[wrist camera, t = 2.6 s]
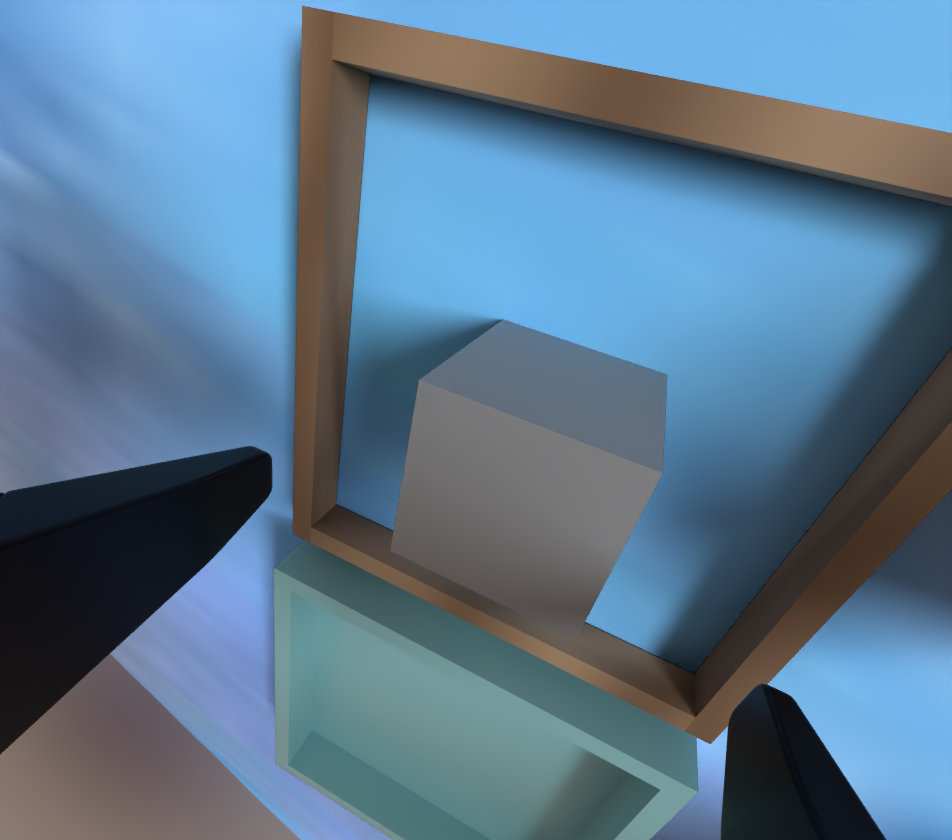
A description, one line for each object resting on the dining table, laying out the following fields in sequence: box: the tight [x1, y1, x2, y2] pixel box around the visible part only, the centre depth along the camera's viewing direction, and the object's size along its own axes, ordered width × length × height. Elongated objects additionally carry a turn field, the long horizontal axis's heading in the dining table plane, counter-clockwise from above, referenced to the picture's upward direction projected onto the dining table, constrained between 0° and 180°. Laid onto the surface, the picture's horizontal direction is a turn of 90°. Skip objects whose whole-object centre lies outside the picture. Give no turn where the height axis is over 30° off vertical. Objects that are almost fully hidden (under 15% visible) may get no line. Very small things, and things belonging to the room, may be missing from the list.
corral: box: [293, 6, 952, 744], centre depth 13 cm, size 16×16×2 cm
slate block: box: [390, 320, 667, 640], centre depth 11 cm, size 4×4×5 cm
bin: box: [274, 540, 698, 840], centre depth 20 cm, size 16×16×2 cm
